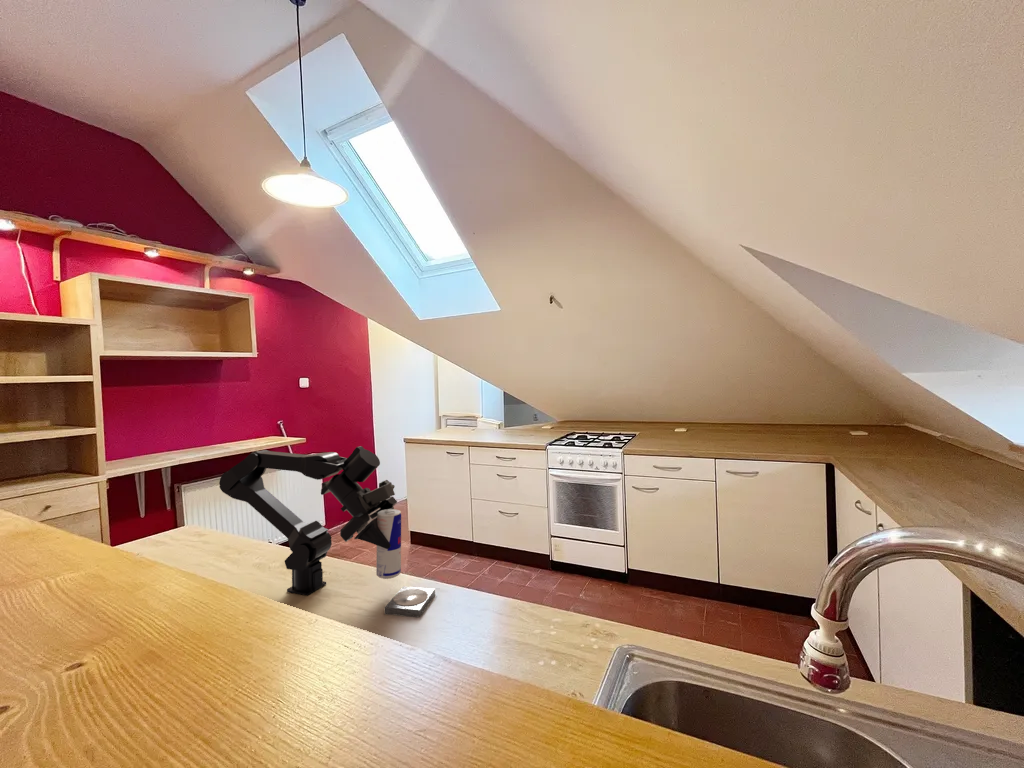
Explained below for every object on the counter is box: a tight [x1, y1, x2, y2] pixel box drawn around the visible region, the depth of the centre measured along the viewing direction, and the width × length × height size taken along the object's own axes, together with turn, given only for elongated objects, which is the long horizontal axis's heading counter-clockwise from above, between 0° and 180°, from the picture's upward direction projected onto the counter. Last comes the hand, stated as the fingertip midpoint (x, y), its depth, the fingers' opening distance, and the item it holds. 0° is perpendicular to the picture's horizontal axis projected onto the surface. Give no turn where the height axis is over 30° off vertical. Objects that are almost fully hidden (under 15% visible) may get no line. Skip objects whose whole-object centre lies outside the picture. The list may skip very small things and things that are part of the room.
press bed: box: [384, 585, 436, 618], centre depth 100 cm, size 8×10×2 cm
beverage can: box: [375, 508, 402, 580], centre depth 104 cm, size 6×6×15 cm
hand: (394, 543), depth 104 cm, fingers closed on beverage can, 5 cm apart
